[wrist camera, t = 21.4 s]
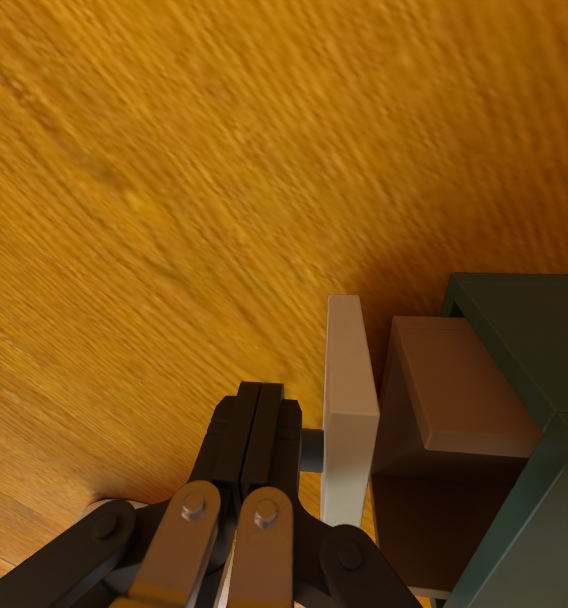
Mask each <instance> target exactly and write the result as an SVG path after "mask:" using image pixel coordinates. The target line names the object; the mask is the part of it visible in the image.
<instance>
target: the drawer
mask: <svg viewBox="0 0 568 608" xmlns="http://www.w3.org/2000/svg"><path fill="white" fill-rule="evenodd" d="M543 435H544V433H542V432H541V431H540V429H539V428H538V426H537V425H536V423H535V421H534V420H533V418H532V417H531V415H530V414H529V412H528V411H527V409H526V408H525V406H524V405H523V403H522V402H521V400H520V399H519V397H518V396H517V394H516V393H515V391H514V390H513V388H512V387H511V385H510V384H509V382H508V381H507V379H506V378H505V376H504V375H503V373H502V372H501V370H500V369H499V367H498V366H497V364H496V363H495V361H494V360H493V358H492V357H491V355H490V354H489V352H488V351H487V349H486V348H485V346H484V345H483V343H482V342H481V340H480V339H479V337H478V335H477V334H476V332H475V331H474V329H473V328H472V326H471V325H470V323H469V322H468V320H467V319H466V318H455V317H423V316H393V320H392V326H391V332H390V338H389V344H388V350H387V356H386V362H385V368H384V374H383V380H382V386H381V392H380V398H379V404H378V400H377V394H376V389H375V383H374V377H373V371H372V366H371V360H370V354H369V349H368V343H367V337H366V331H365V326H364V320H363V314H362V308H361V303H360V297H359V296H358V295H329V296H328V315H327V339H326V363H325V387H324V411H323V430H320V429H306V428H302V450H301V464H300V471H307V472H318V473H321V509H320V521H322V522H324V523H326V524H328V525H330V526H332V527H334V526H337V525H340V524H350V525H354V526H356V527H358V528H360V527H361V521H362V515H363V510H364V504H365V498H366V492H367V487H368V481H369V486H370V494H371V503H372V512H373V521H374V530H375V538H376V546H377V547H378V549H379V550H380V551H381V552H382V554H383V555H384V556H385V558H386V559H387V560H388V562H389V563H390V564H391V566H392V567H393V568H394V570H395V571H396V572H397V574H398V575H399V576H400V578H401V579H402V580H403V582H404V583H405V584H406V586H407V587H408V588H409V590H410V591H411V592H412V594H413V595H414V596H421V597H429V598H437V599H445V600H447V599H448V598H449V596H450V594H451V592H452V591H453V589H454V587H455V586H456V584H457V582H458V580H459V579H460V577H461V575H462V574H463V572H464V570H465V569H466V567H467V565H468V563H469V562H470V560H471V558H472V557H473V555H474V553H475V551H476V550H477V548H478V546H479V545H480V543H481V541H482V539H483V538H484V536H485V534H486V533H487V531H488V529H489V527H490V526H491V524H492V522H493V521H494V519H495V517H496V516H497V514H498V512H499V510H500V509H501V507H502V505H503V504H504V502H505V500H506V498H507V497H508V495H509V493H510V492H511V490H512V488H513V486H514V485H515V483H516V481H517V480H518V478H519V476H520V474H521V473H522V471H523V469H524V468H525V466H526V464H527V463H528V461H529V459H530V457H531V456H532V454H533V452H534V451H535V449H536V447H537V445H538V444H539V442H540V440H541V439H542V437H543Z"/></svg>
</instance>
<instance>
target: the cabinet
mask: <svg viewBox="0 0 568 608" xmlns="http://www.w3.org/2000/svg"><path fill="white" fill-rule="evenodd" d="M440 317H455V318H466V319H467V320H468V322H469V323H470V325H471V326H472V328H473V329H474V331H475V332H476V334H477V335H478V337H479V339H480V340H481V342H482V343H483V345H484V346H485V348H486V349H487V351H488V352H489V354H490V355H491V357H492V358H493V360H494V361H495V363H496V364H497V366H498V367H499V369H500V370H501V372H502V373H503V375H504V376H505V378H506V379H507V381H508V382H509V384H510V385H511V387H512V388H513V390H514V391H515V393H516V394H517V396H518V397H519V399H520V400H521V402H522V403H523V405H524V406H525V408H526V409H527V411H528V412H529V414H530V415H531V417H532V418H533V420H534V421H535V423H536V425H537V426H538V428H539V429H540V431H541V432H542V433H544V435H543V437H542V439H541V440H540V442H539V444H538V445H537V447H536V449H535V451H534V452H533V454H532V456H531V457H530V459H529V461H528V463H527V464H526V466H525V468H524V469H523V471H522V473H521V474H520V476H519V478H518V480H517V481H516V483H515V485H514V486H513V488H512V490H511V492H510V493H509V495H508V497H507V498H506V500H505V502H504V504H503V505H502V507H501V509H500V510H499V512H498V514H497V516H496V517H495V519H494V521H493V522H492V524H491V526H490V527H489V529H488V531H487V533H486V534H485V536H484V538H483V539H482V541H481V543H480V545H479V546H478V548H477V550H476V551H475V553H474V555H473V557H472V558H471V560H470V562H469V563H468V565H467V567H466V569H465V570H464V572H463V574H462V575H461V577H460V579H459V580H458V582H457V584H456V586H455V587H454V589H453V591H452V592H451V594H450V596H449V598H448V599H447V600H445V599H437V598H430V603H431V607H432V608H568V275H556V274H496V273H451V276H450V280H449V284H448V288H447V292H446V296H445V300H444V304H443V308H442V312H441V315H440Z"/></svg>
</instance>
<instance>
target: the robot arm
mask: <svg viewBox="0 0 568 608" xmlns="http://www.w3.org/2000/svg"><path fill="white" fill-rule="evenodd" d="M301 450H302V411H301V408H300V406H299V404H298V401H297V400H289V399H285V398H284V384H280V383H261V382H244V381H242V382H241V384H240V386H239V390H238V393H237V396H225V397H224V398H223V399H222V400H221V401H220V403H219V404H218V405H217V406H216V408H215V410H214V413H213V416H212V418H211V423H210V424H209V427H208V429H207V434H206V435H205V438H204V440H203V443H202V446H201V449H200V451H199V454H198V457H197V459H196V462H195V465H194V468H193V470H192V473H191V476H190V478H189V480H188V482H187V483H186V485H184V486H183V487H181V488H180V489H179V490H178V491H177V492H176V493H175V494H174V496H173V497H172V498H170V499H168V500H166V501H164V502H160V503H157V504H153V505H149V506H145V507H141V508H137V509H135V508H134V506H133V505H132V504H131V503H130V502H128V501H126V500H122V499H116V500H111V501H109V502H106V503H104V504H102V505H100V506H99V507H97V508H96V509H95V510H93V511H92V512H91V513H89V514H88V515H86V516H85V517H84V518H82V519H81V520H80V521H78V522H77V523H75V524H74V525H73V526H71V527H70V528H69V529H67V530H66V531H65V532H63V533H62V534H60V535H59V536H58V537H56V538H55V539H54V540H52V541H51V542H50V543H48V544H47V545H45V546H44V547H43V548H41V549H40V550H39V551H37V552H36V553H35V554H33V555H32V556H30V557H29V558H28V559H26V560H25V561H24V562H22V563H21V564H19V565H18V566H17V567H15V568H14V569H13V570H11V571H10V572H9V573H7V574H6V575H4V576H3V577H2V578H0V608H217V607H218V604H219V600H220V597H221V593H222V589H223V586H224V582H225V578H226V575H227V571H228V567H229V564H230V560H231V556H232V543H233V539H234V534H235V529H236V525H237V526H238V530H237V537H236V544H235V551H234V558H233V566H232V573H231V580H230V587H229V594H228V601H227V606H226V608H294V601H296V602H298V603H299V604H301V605H302V606H304V607H306V608H423V607H422V605H421V604H420V603H419V601H418V600H417V599H416V598H415V596H414V595H413V594H412V592H411V591H410V590H409V588H408V587H407V586H406V584H405V583H404V582H403V580H402V579H401V578H400V576H399V575H398V574H397V572H396V571H395V570H394V568H393V567H392V566H391V564H390V563H389V562H388V560H387V559H386V558H385V556H384V555H383V554H382V552H381V551H380V550H379V549H378V547H377V546H376V545H375V543H374V542H373V541H372V539H371V538H370V537H369V536H368V535H367V534H366V533H365V532H364V531H363V530H361V529H360V528H358V527H356V526H354V525H350V524H340V525H337V526H334V527H332V526H330V525H328V524H326V523H324V522H322V521H320V520H318V519H316V518H314V517H313V516H311V515H310V514H309V513H308V512H307V511H306V510H305V509H304V508H303V506H302V505H301V503H300V501H299V498H298V493H299V479H300V464H301Z"/></svg>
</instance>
